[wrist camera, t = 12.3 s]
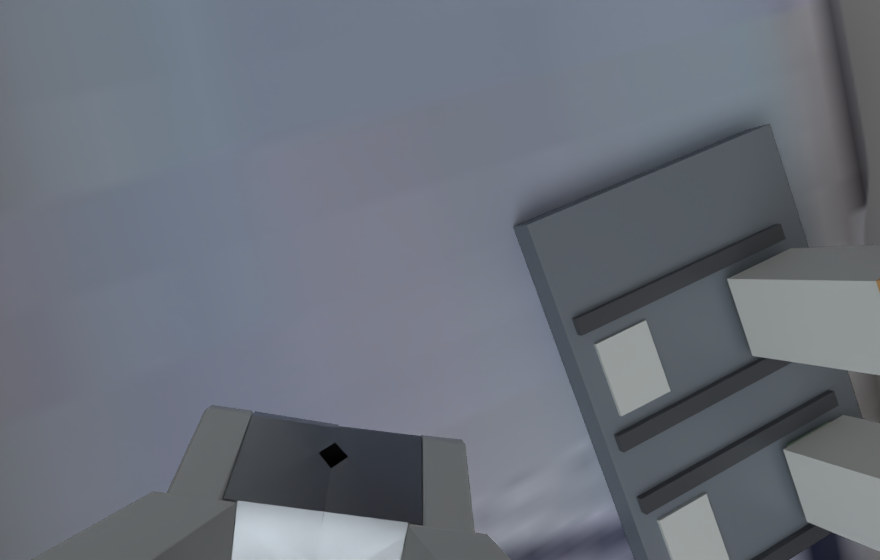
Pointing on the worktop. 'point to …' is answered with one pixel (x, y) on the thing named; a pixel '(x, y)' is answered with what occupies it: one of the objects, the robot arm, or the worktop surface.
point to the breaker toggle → (814, 307)
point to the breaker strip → (700, 364)
